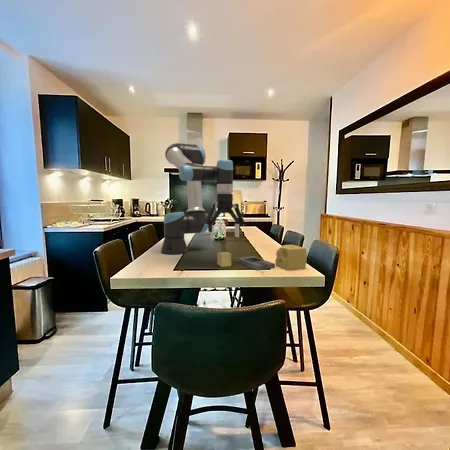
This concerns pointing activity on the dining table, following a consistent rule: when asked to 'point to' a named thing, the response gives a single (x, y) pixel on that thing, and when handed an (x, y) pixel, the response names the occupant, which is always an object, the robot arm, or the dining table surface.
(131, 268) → the dining table surface
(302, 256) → the cheese
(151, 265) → the dining table surface
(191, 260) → the dining table surface
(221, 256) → the yellow cube
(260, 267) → the metal plate
